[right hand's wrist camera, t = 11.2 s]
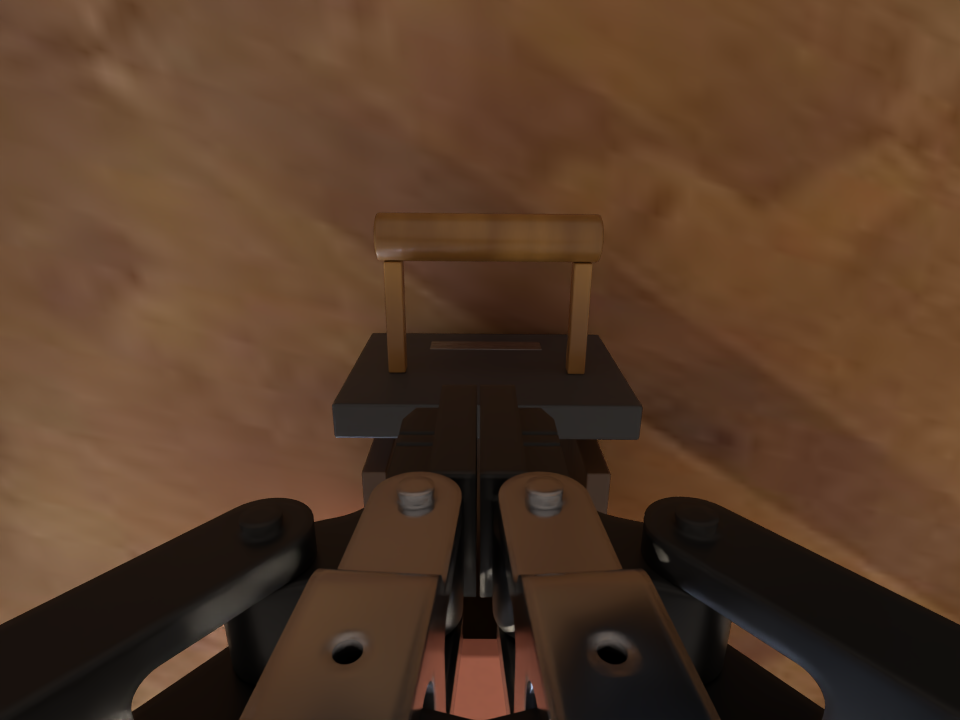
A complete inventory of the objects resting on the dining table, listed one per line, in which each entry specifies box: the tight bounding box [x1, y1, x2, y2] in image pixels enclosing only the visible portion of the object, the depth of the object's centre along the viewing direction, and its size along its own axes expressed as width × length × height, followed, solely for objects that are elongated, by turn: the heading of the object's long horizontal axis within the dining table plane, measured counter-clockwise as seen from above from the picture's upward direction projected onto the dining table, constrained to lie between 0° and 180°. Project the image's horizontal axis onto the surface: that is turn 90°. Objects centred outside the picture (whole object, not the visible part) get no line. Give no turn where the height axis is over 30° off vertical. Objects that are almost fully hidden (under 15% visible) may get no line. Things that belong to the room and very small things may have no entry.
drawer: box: [332, 213, 643, 639], centre depth 24 cm, size 25×10×7 cm, turn 0°
